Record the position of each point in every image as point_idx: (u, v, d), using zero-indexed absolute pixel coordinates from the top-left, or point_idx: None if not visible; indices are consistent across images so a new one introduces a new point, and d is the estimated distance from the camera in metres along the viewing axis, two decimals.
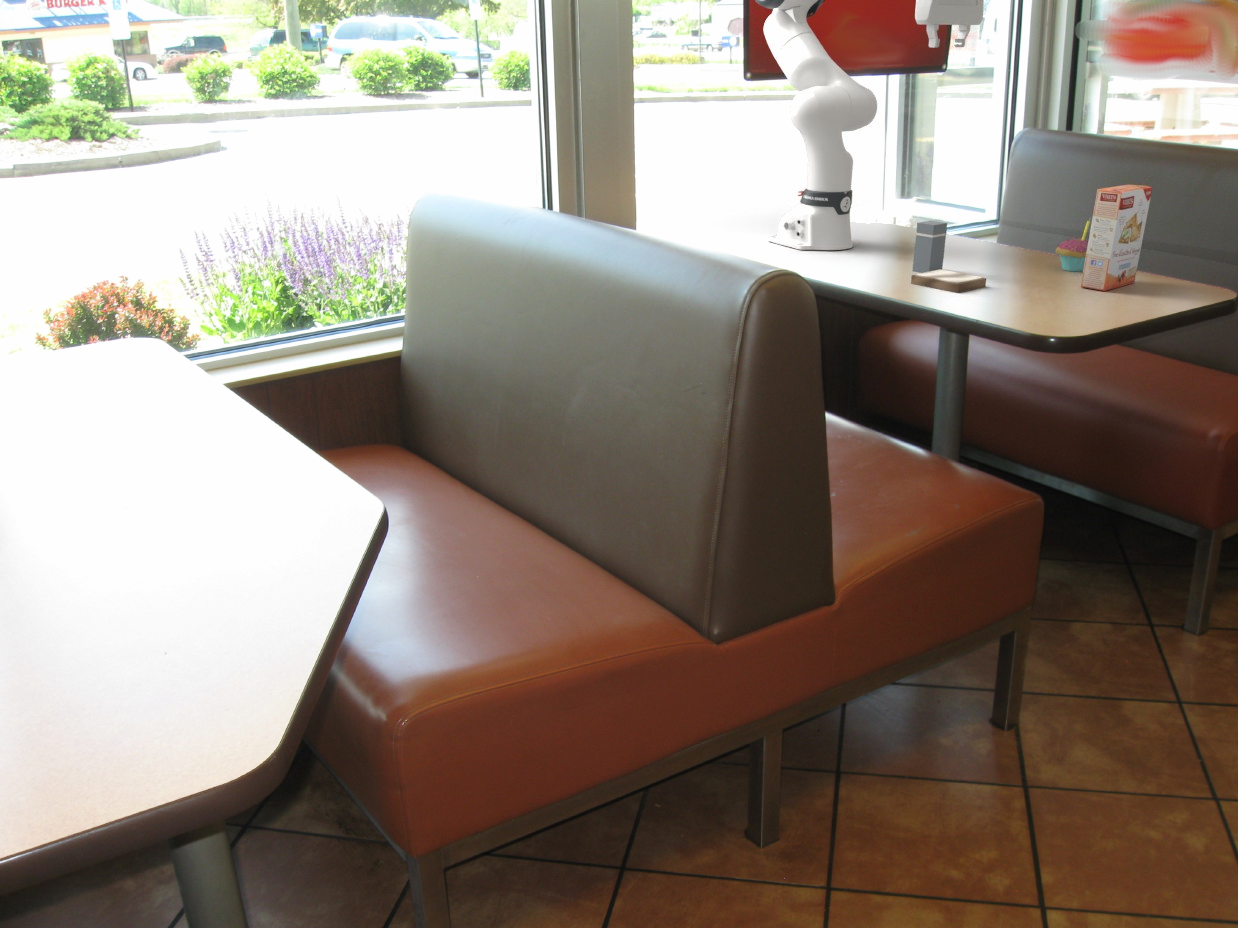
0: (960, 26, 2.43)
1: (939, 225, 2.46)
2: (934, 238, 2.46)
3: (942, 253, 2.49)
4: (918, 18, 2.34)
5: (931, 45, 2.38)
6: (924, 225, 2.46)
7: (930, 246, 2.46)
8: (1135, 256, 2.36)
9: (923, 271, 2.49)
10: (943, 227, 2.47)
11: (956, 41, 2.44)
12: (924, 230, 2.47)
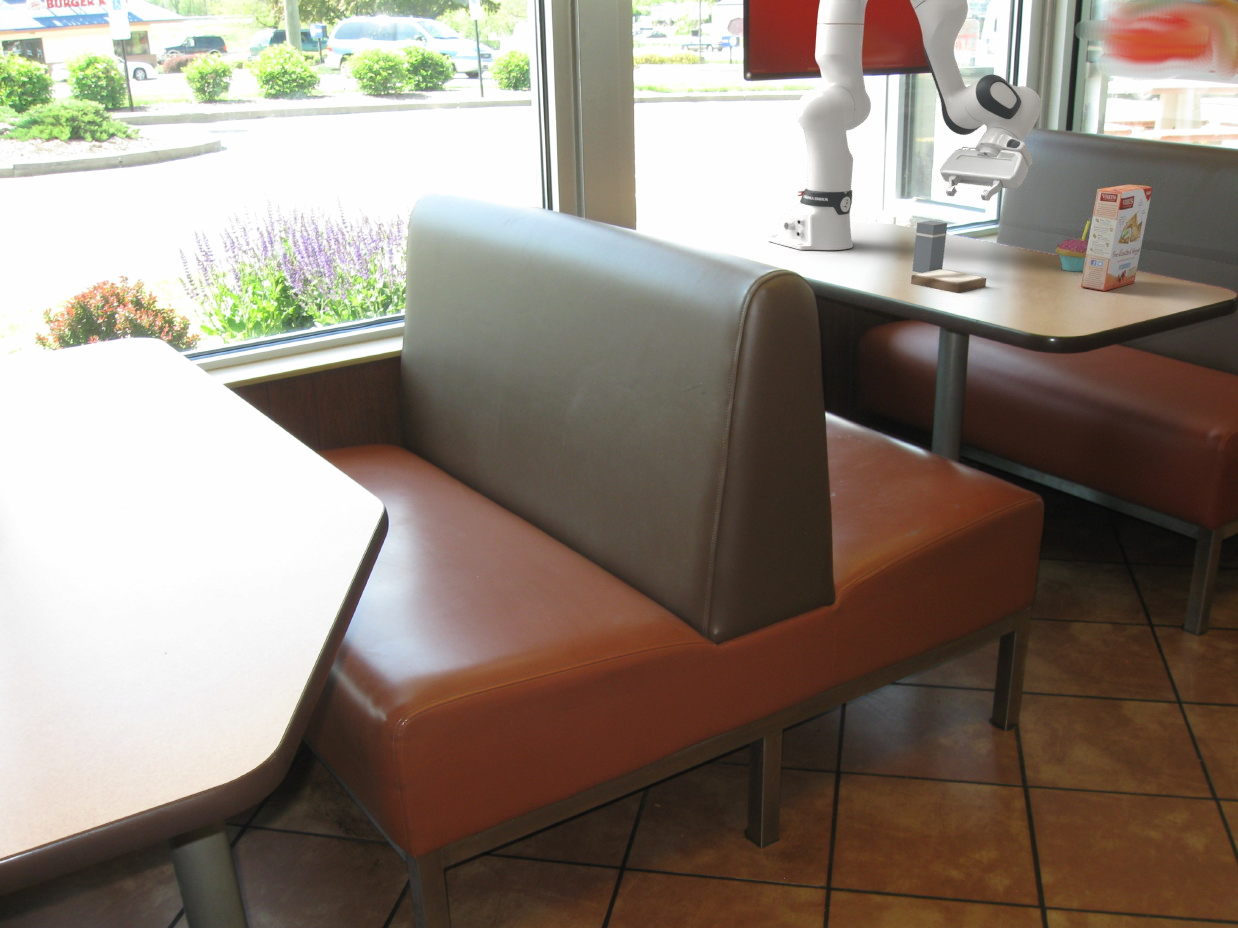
0: (956, 178, 2.57)
1: (939, 225, 2.46)
2: (934, 238, 2.46)
3: (942, 253, 2.49)
4: (1016, 178, 2.46)
5: (988, 197, 2.49)
6: (924, 225, 2.46)
7: (930, 246, 2.46)
8: (1135, 256, 2.36)
9: (923, 271, 2.49)
10: (943, 227, 2.47)
11: (953, 189, 2.56)
12: (924, 230, 2.47)
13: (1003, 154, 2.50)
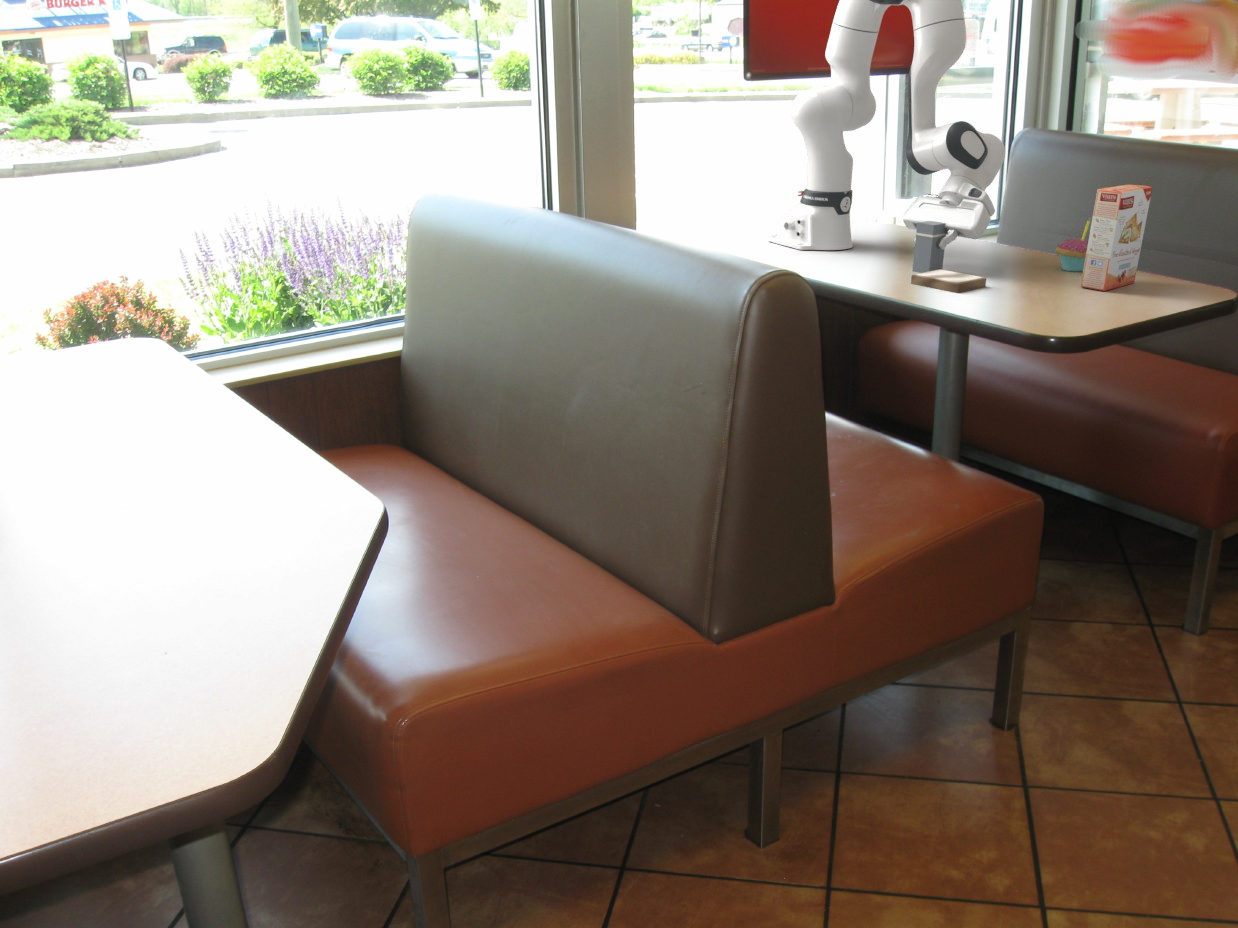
0: None
1: (939, 225, 2.46)
2: (934, 238, 2.46)
3: (942, 253, 2.49)
4: (978, 229, 2.42)
5: (942, 246, 2.46)
6: (924, 225, 2.46)
7: (930, 246, 2.46)
8: (1135, 256, 2.36)
9: (923, 271, 2.49)
10: (943, 227, 2.47)
11: None
12: (924, 230, 2.47)
13: (965, 203, 2.46)
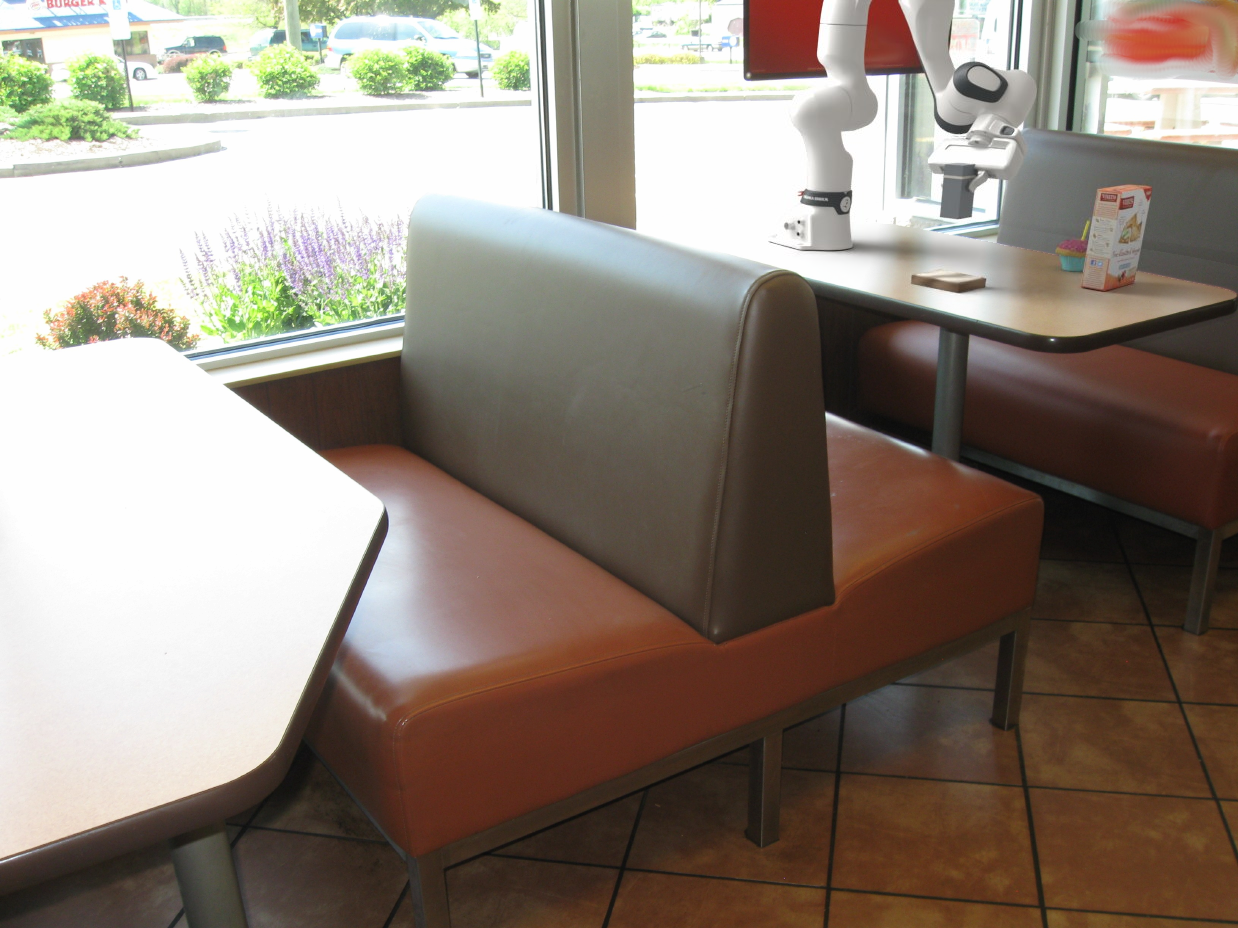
0: None
1: (969, 166, 2.28)
2: (963, 180, 2.28)
3: (971, 196, 2.32)
4: (1011, 168, 2.25)
5: (972, 188, 2.29)
6: (952, 166, 2.29)
7: (959, 189, 2.29)
8: (1135, 256, 2.36)
9: (952, 216, 2.32)
10: (973, 168, 2.29)
11: None
12: (952, 172, 2.29)
13: (996, 142, 2.28)
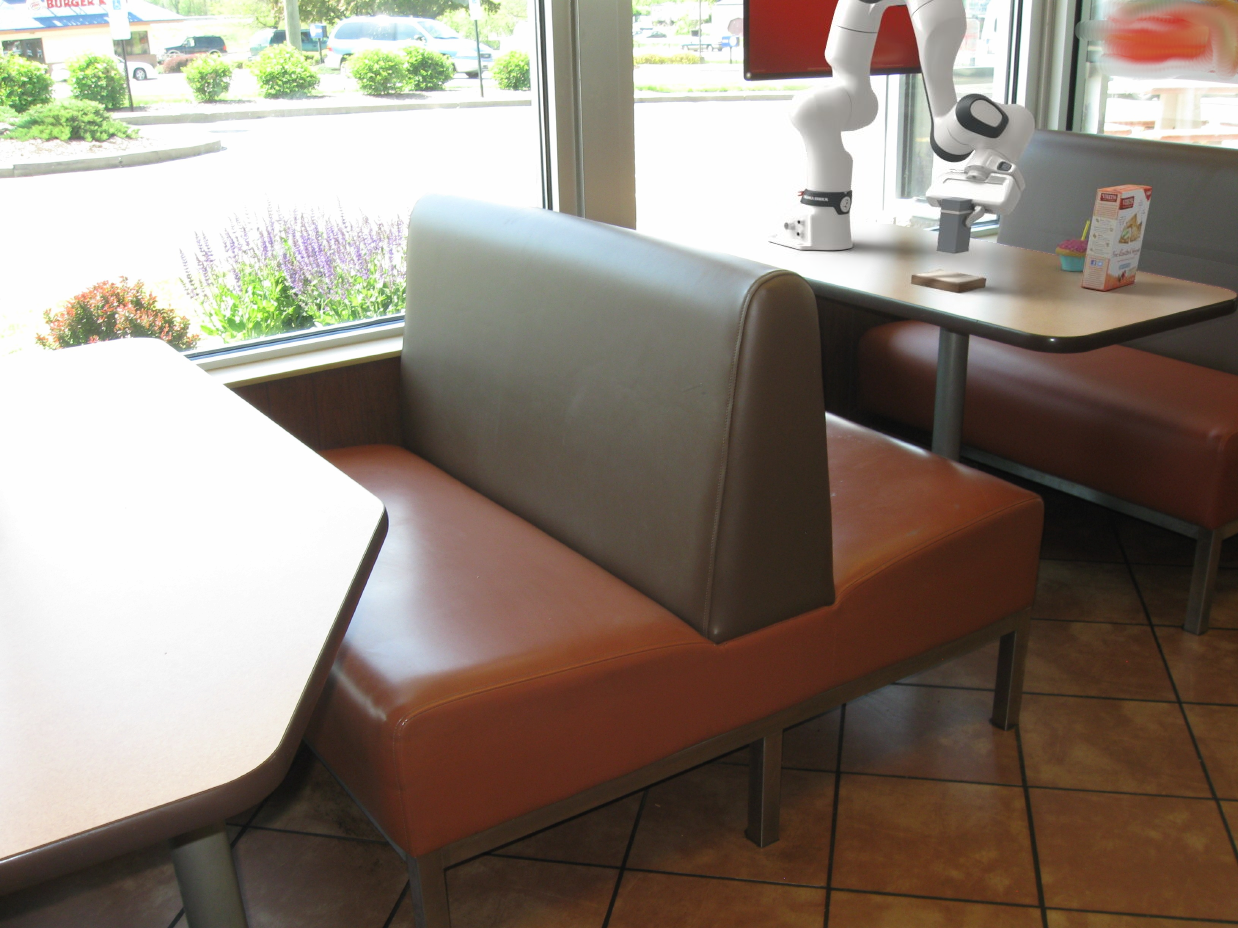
0: None
1: (966, 201, 2.29)
2: (960, 215, 2.29)
3: (968, 231, 2.33)
4: (1008, 204, 2.25)
5: (969, 223, 2.30)
6: (949, 201, 2.30)
7: (956, 223, 2.30)
8: (1135, 256, 2.36)
9: (948, 251, 2.33)
10: (970, 203, 2.30)
11: None
12: (949, 206, 2.30)
13: (993, 177, 2.29)
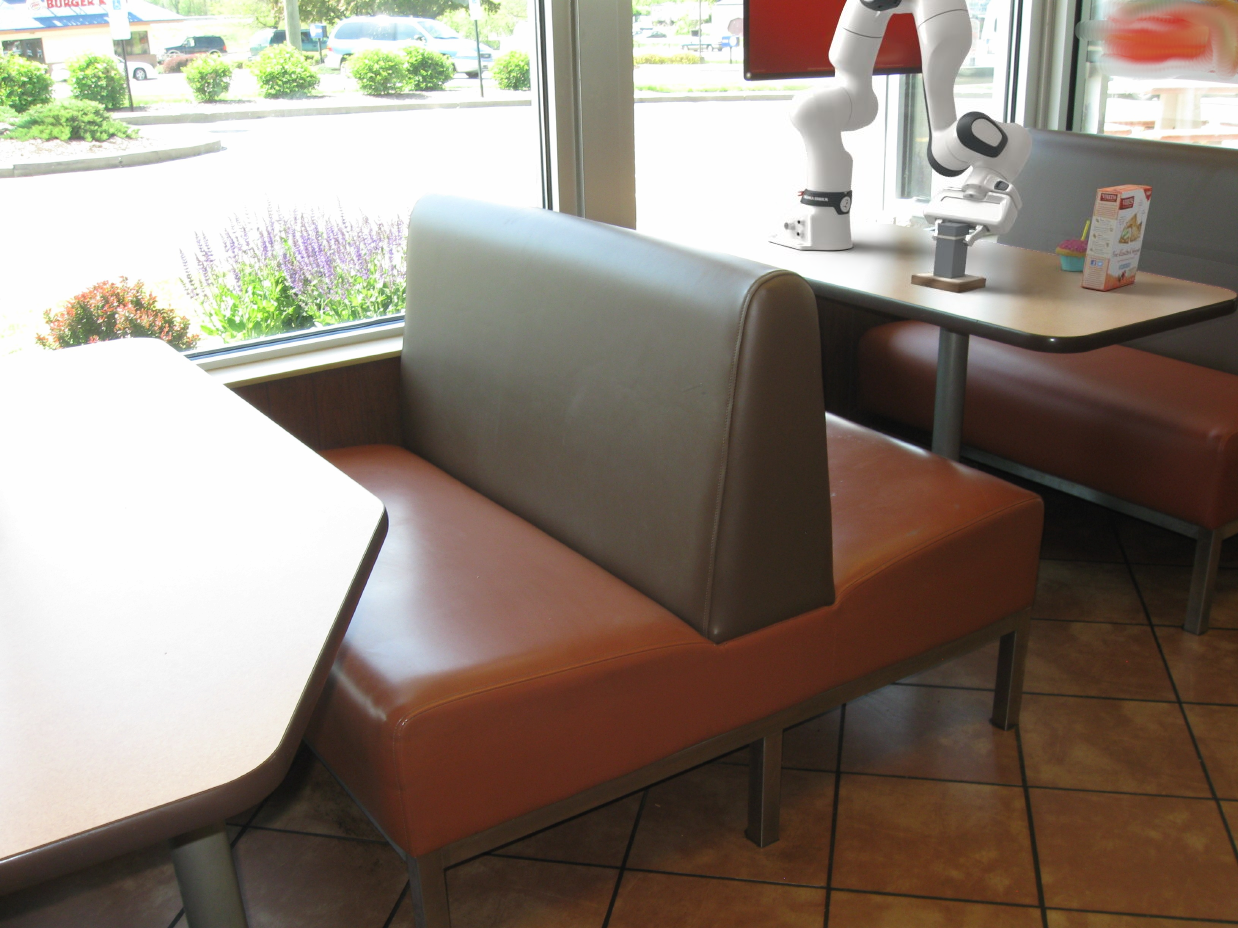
0: (943, 221, 2.37)
1: (961, 226, 2.31)
2: (956, 240, 2.31)
3: (964, 256, 2.35)
4: (1005, 224, 2.27)
5: (970, 243, 2.31)
6: (945, 226, 2.32)
7: (952, 249, 2.32)
8: (1135, 256, 2.36)
9: (945, 275, 2.35)
10: (966, 229, 2.33)
11: None
12: (945, 232, 2.32)
13: (990, 197, 2.31)
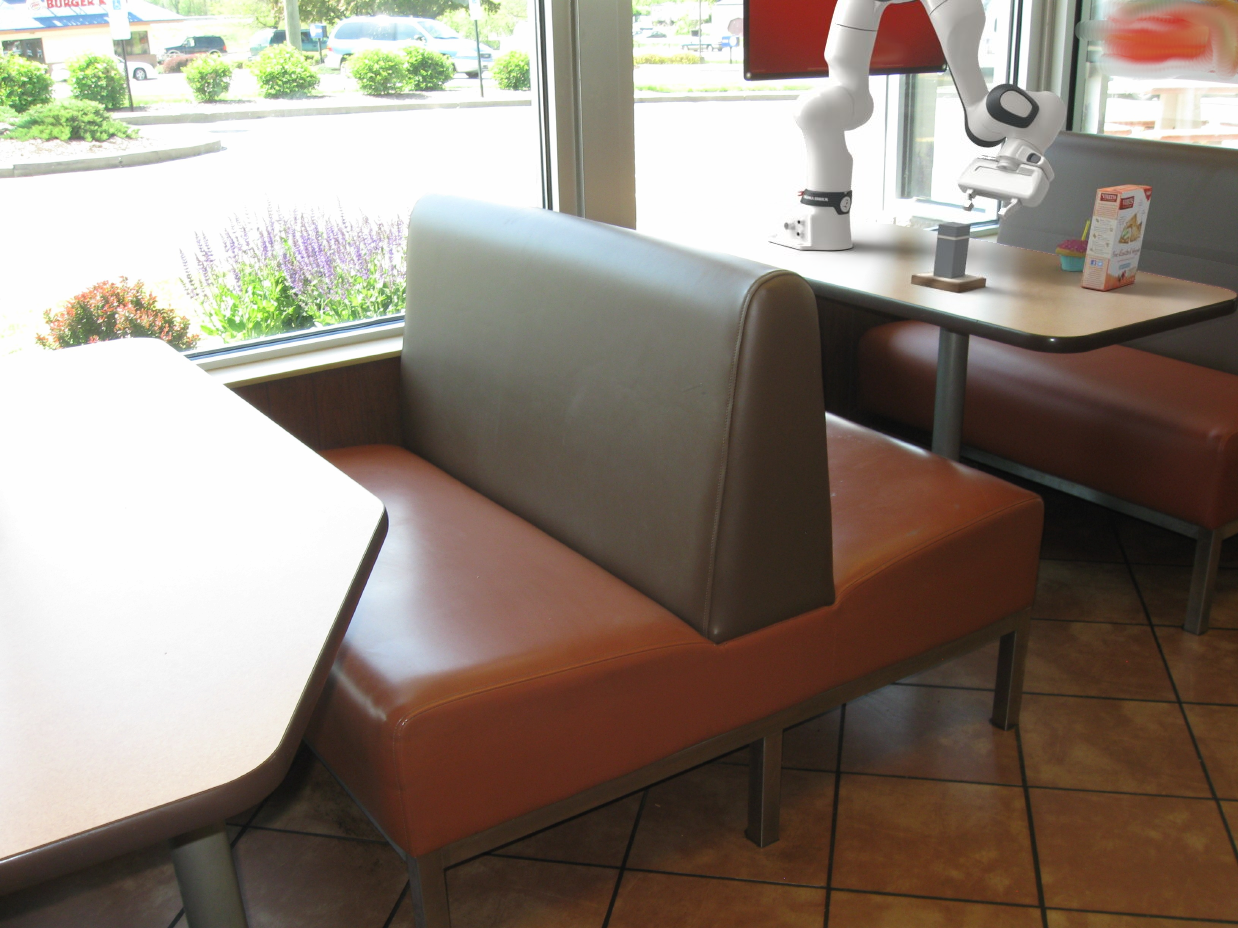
0: (973, 191, 2.45)
1: (962, 227, 2.31)
2: (957, 241, 2.31)
3: (965, 256, 2.35)
4: (1036, 197, 2.34)
5: (1005, 216, 2.37)
6: (946, 227, 2.32)
7: (952, 249, 2.32)
8: (1135, 256, 2.36)
9: (945, 276, 2.35)
10: (967, 229, 2.32)
11: (970, 204, 2.44)
12: (946, 232, 2.32)
13: (1023, 169, 2.37)
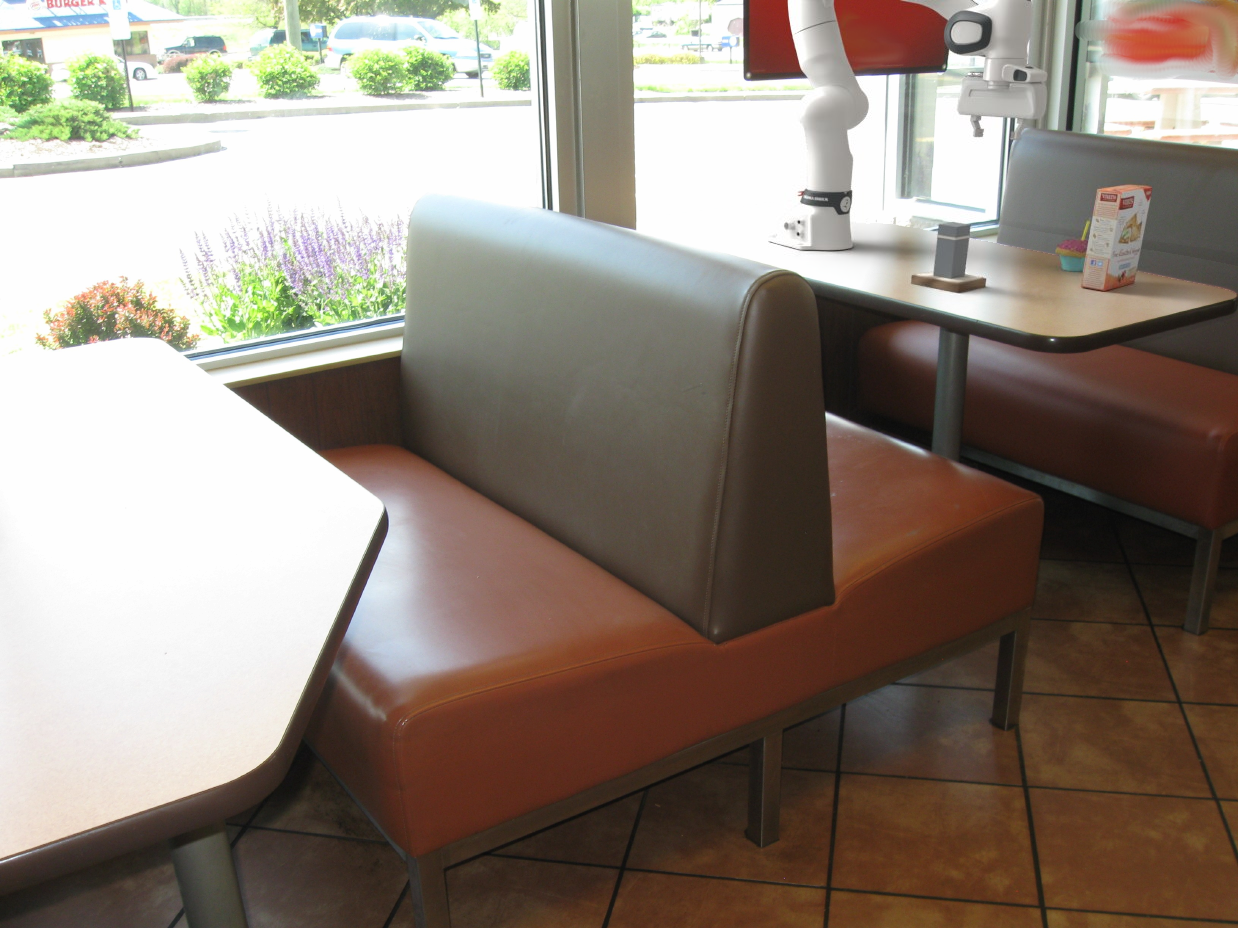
0: (977, 116, 2.45)
1: (962, 227, 2.31)
2: (957, 241, 2.31)
3: (965, 256, 2.35)
4: (1039, 113, 2.34)
5: (1018, 138, 2.40)
6: (946, 227, 2.32)
7: (952, 249, 2.32)
8: (1135, 256, 2.36)
9: (945, 276, 2.35)
10: (967, 229, 2.32)
11: (980, 131, 2.46)
12: (946, 232, 2.32)
13: (1014, 88, 2.35)
